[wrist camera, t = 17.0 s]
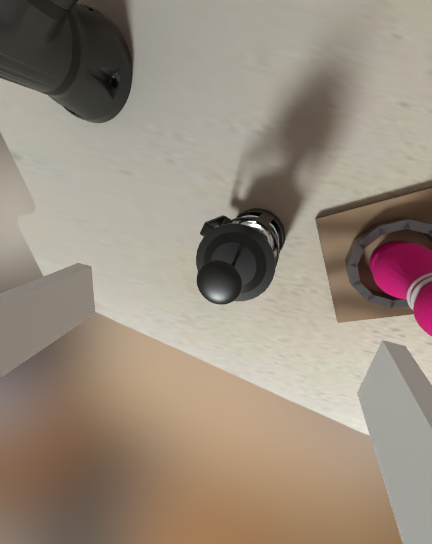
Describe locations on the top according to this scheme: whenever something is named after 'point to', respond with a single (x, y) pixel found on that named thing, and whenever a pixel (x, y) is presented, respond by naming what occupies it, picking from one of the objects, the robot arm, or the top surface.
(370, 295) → the iron collar
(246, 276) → the french press
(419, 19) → the top surface
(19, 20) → the robot arm
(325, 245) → the collar plate
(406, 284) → the pepper mill
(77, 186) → the top surface
